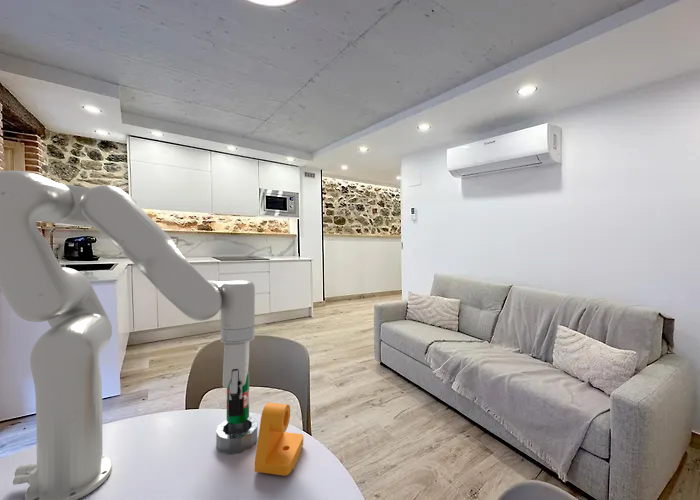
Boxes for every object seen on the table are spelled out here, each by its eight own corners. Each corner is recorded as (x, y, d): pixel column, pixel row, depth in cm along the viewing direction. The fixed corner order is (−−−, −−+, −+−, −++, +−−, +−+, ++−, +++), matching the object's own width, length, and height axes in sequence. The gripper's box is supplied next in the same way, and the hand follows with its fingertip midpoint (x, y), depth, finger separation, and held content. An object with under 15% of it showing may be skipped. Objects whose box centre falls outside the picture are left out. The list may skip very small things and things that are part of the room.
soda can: (242, 427, 71) (242, 375, 71) (222, 424, 72) (222, 373, 72) (252, 415, 76) (253, 366, 76) (233, 413, 77) (234, 365, 77)
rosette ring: (213, 456, 69) (213, 441, 69) (220, 432, 78) (220, 418, 77) (256, 450, 71) (256, 435, 71) (258, 427, 80) (258, 414, 80)
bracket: (288, 480, 62) (288, 421, 62) (254, 475, 64) (254, 417, 63) (304, 445, 73) (304, 395, 73) (275, 442, 74) (275, 392, 74)
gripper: (226, 324, 81) (226, 393, 81) (214, 345, 64) (213, 432, 65) (256, 322, 83) (256, 390, 83) (252, 343, 66) (251, 427, 67)
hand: (237, 407), depth 74 cm, fingers closed on soda can, 5 cm apart
